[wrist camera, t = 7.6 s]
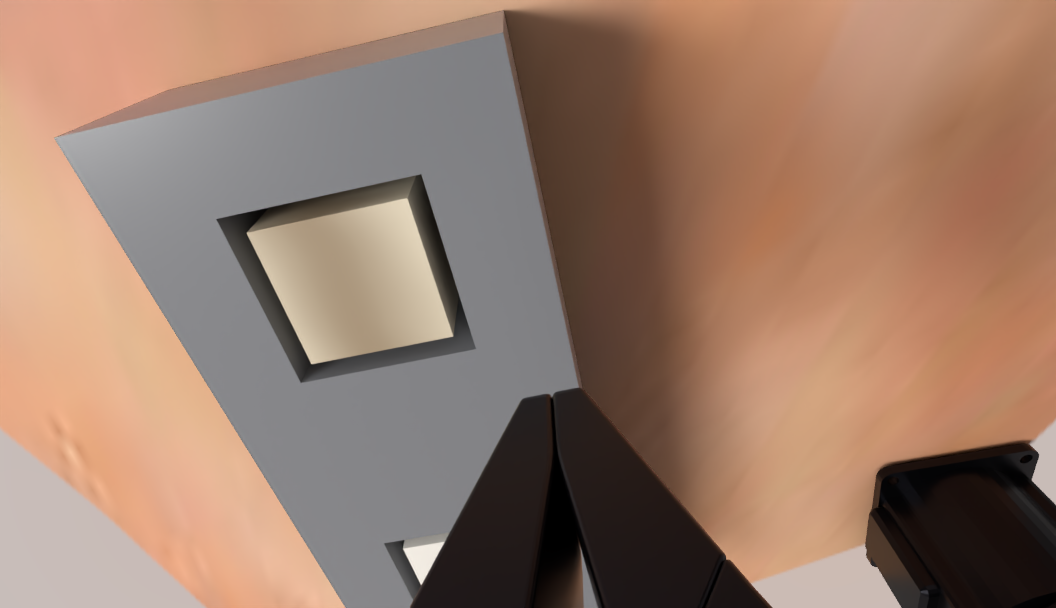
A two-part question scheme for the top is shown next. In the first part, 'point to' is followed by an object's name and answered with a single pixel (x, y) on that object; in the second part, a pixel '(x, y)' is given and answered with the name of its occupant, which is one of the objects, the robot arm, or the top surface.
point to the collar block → (261, 322)
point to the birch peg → (359, 269)
